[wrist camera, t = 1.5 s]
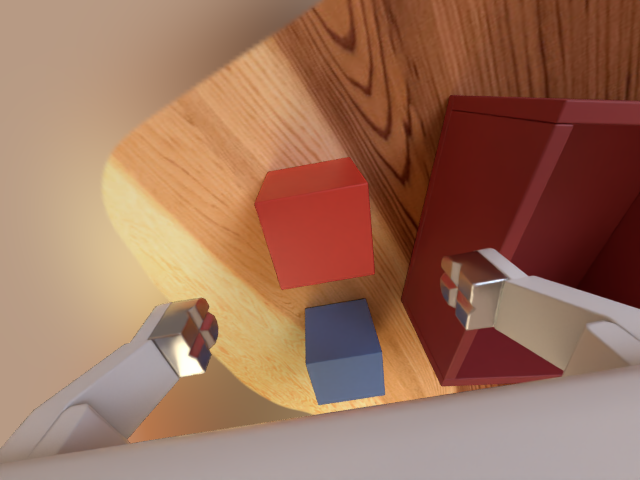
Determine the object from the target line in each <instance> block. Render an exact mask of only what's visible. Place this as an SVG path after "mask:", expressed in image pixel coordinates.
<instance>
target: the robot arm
mask: <svg viewBox="0 0 640 480" xmlns="http://www.w3.org/2000/svg"><path fill="white" fill-rule="evenodd" d="M441 268H442V269H443V270H444V271H445V272H444V274H443V275H442V276H441V277H440V288H441V292H442V295H443V297H444V299H445V301H446V302H447V304H448V305H450V306H452V307H454V308H456V309H455V315H456V317H457V318H458V320H459V321H460V323H461V324H462V325H463V327H464V328H465V330H466V331H467V330H474V329H482V328H489V327H494V328H495V329H496V330H498V331H500V332H501V333H503V334H505V335H506V336H508V337H509V338H511V339H513V340H514V341H516V342H518V343H519V344H521V345H523V346H524V347H526V348H527V349H529V350H531V351H532V352H534V353H536V354H537V355H539V356H540V357H542V358H544V359H545V360H547V361H549V362H550V363H552V364H553V365H555V366H557V367H558V368H560V369H562V370H563V371H564V372H563V374H562V376H561V377H556V378H549V379H543V380H536V381H530V382H523V383H517V384H510V385H504V386H497V387H491V388H485V389H478V390H472V391H465V392H459V393H453V394H446V395H440V396H433V397H427V398H420V399H414V400H408V401H401V402H395V403H388V404H382V405H376V406H369V407H363V408H356V409H350V410H343V411H337V412H330V413H324V414H317V415H311V416H305V417H298V418H291V419H285V420H279V421H272V422H266V423H259V424H253V425H246V426H240V427H233V428H227V429H220V430H214V431H208V432H201V433H194V434H188V435H181V436H175V437H168V438H162V439H155V440H149V441H143V442H136V443H130V442H129V441H128V440H127V439H128V438H129V437H130V436H131V435H132V433H133V432H134V431H135V430H136V429H137V428H138V427H139V425H140V424H141V423H142V422H143V421H144V420H145V418H146V417H147V416H148V415H149V414H150V413H151V411H152V410H153V409H154V408H155V407H156V406H157V405H158V403H159V402H160V401H161V400H162V399H163V398H164V396H165V395H166V394H167V393H168V392H169V391H170V389H171V388H172V387H173V386H174V385H175V384H176V383H177V381H178V380H179V378H181V377H186V376H191V375H197V374H202V373H205V372H206V369H207V366H208V363H209V360H210V357H211V355H212V354H211V352H210V350H209V349H210V348H211V347H212V346H213V345H214V344H215V343H216V340H217V337H218V324H217V320H216V318H215V316H214V315H212V314H211V313H209V312H208V309H209V304H208V303H207V301H206V299H204V298H197V299H190V300H184V301H177V302H171V303H166V304H160V305H158V306H156V307H155V308H154V309H153V311H152V312H151V314H150V315H149V317H148V318H147V319H146V321H145V322H144V323H143V325H142V326H141V328H140V329H139V331H138V332H137V333H136V335H135V336H134V338H133V339H132V341H131V342H130V343H128V344H124V345H123V346H121V347H120V348H119V349H117V350H116V351H114V352H113V353H112V354H110V355H109V356H108V357H106V358H105V359H103V360H102V361H101V362H99V363H98V364H96V365H95V366H94V367H92V368H91V369H90V370H88V371H87V372H85V373H84V374H83V375H81V376H80V377H79V378H77V379H76V380H74V381H73V382H72V383H70V384H69V385H68V386H66V387H65V388H63V389H62V390H61V391H59V392H58V393H56V394H55V395H54V396H52V397H51V398H50V399H48V400H47V401H46V402H44V403H43V404H41V405H40V406H39V407H37V408H36V409H34V410H33V411H32V412H31V414H30V415H29V416H28V417H27V418H26V420H25V421H24V422H23V423H22V424H21V425H20V426H19V428H18V429H17V430H16V431H15V432H14V433H13V434H12V436H11V437H10V438H9V439H8V440H7V442H6V443H5V444H4V445H3V446H2V447H1V448H0V480H640V309H638V308H634V307H631V306H628V305H625V304H622V303H619V302H616V301H612V300H609V299H606V298H603V297H600V296H597V295H594V294H590V293H587V292H584V291H581V290H578V289H575V288H572V287H568V286H565V285H562V284H559V283H556V282H553V281H550V280H546V279H543V278H540V277H537V276H528V275H526V274H525V273H524V272H523V271H521V270H520V269H519V268H518V267H516V266H515V265H514V264H512V263H511V262H510V261H509V260H507V259H506V258H505V257H504V256H502V255H501V254H500V253H499V252H497V251H496V250H495V249H493V248H485V249H480V250H475V251H473V252H467V253H461V254H456V255H450V256H444V257H443V259H442V262H441Z"/></svg>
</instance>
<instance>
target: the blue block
mask: <svg viewBox="0 0 640 480" xmlns="http://www.w3.org/2000/svg"><path fill="white" fill-rule="evenodd" d="M305 351H306V367H307V370H308V373H309V376H310V380H311V383H312V386H313V389H314V392H315V396H316V399H317V402H318V405H323V404H329V403H336V402H342V401H349V400H356V399H362V398H369V397H375V396H382V395H385V387H384V373H383V359H382V350H381V347H380V344H379V340H378V337H377V334H376V331H375V327H374V324H373V321H372V317H371V314H370V311H369V307H368V304H367V301H366V299H360V300H354V301H348V302H342V303H336V304H330V305H324V306H318V307H312V308H306V309H305Z"/></svg>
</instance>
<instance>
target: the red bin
mask: <svg viewBox="0 0 640 480" xmlns="http://www.w3.org/2000/svg"><path fill="white" fill-rule="evenodd" d="M485 248H493V249H495V250H496V251H497V252H499V253H500V254H501V255H502V256H504V257H505V258H506V259H507V260H509V261H510V262H511V263H512V264H514V265H515V266H516V267H518V268H519V269H520V270H521V271H523V272H524V273H525V274H526V275H528V276H537V277H540V278H543V279H546V280H550V281H553V282H556V283H559V284H562V285H565V286H568V287H572V288H575V289H578V290H581V291H584V292H587V293H590V294H594V295H597V296H600V297H603V298H606V299H609V300H612V301H616V302H619V303H622V304H625V305H628V306H631V307H634V308H638V309H640V101H625V100H592V99H559V98H526V97H493V96H459V95H451V96H450V98H449V102H448V106H447V110H446V114H445V119H444V123H443V127H442V131H441V135H440V139H439V144H438V148H437V152H436V156H435V160H434V164H433V169H432V173H431V177H430V181H429V185H428V189H427V194H426V198H425V202H424V206H423V210H422V214H421V219H420V223H419V227H418V231H417V235H416V239H415V244H414V248H413V252H412V256H411V260H410V265H409V269H408V273H407V277H406V281H405V285H404V290H403V294H402V298H401V301H402V303H403V305H404V308H405V310H406V312H407V314H408V316H409V318H410V320H411V323H412V325H413V327H414V329H415V331H416V333H417V335H418V338H419V340H420V342H421V344H422V346H423V348H424V350H425V353H426V355H427V357H428V359H429V361H430V363H431V365H432V368H433V370H434V372H435V374H436V376H437V378H438V380H439V382H440V385H441V386H463V385H487V384H510V383H523V382H530V381H536V380H543V379H549V378H556V377H561V376H562V374H563V372H564V371H563V370H562V369H560V368H558V367H557V366H555V365H553V364H552V363H550V362H549V361H547V360H545V359H544V358H542V357H540V356H539V355H537V354H536V353H534V352H532V351H531V350H529V349H527V348H526V347H524V346H523V345H521V344H519V343H518V342H516V341H514V340H513V339H511V338H509V337H508V336H506V335H505V334H503V333H501V332H500V331H498V330H496V329H495V328H494V327H489V328H482V329H474V330H467V331H466V330H465V328H464V327H463V325H462V324H461V323H460V321H459V320H458V318H457V317H456V315H455V309H456V308H454V307H452V306H450V305H448V304H447V302H446V301H445V299H444V297H443V295H442V292H441V288H440V277H441V276H442V275H443V274H444V272H445V271H444V270H443V269H442V268H441V262H442V259H443V257H444V256H450V255H456V254H461V253H467V252H473V251H475V250H480V249H485Z"/></svg>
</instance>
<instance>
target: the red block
mask: <svg viewBox="0 0 640 480" xmlns="http://www.w3.org/2000/svg"><path fill="white" fill-rule="evenodd" d="M254 205H255V208H256V211H257V214H258V217H259V221H260V224H261V227H262V230H263V233H264V236H265V240H266V243H267V246H268V249H269V252H270V255H271V259H272V262H273V265H274V268H275V271H276V274H277V277H278V281H279V284H280V287H281V289H282V290H284V289H290V288H296V287H302V286H308V285H314V284H320V283H326V282H332V281H338V280H344V279H350V278H356V277H362V276H367V275H373V274H375V267H374V254H373V240H372V227H371V214H370V200H369V187H368V183H367V181H366V180H365V178H364V177H363V175H362V174H361V173H360V171H359V170H358V168H357V167H356V165H355V164H354V163H353V161H352V160H351V158H350V157H347V158H341V159H336V160H330V161H325V162H319V163H314V164H309V165H303V166H298V167H292V168H287V169H281V170H276V171H270V172H268V173H267V175H266V177H265V180H264V182H263V184H262V187H261V189H260V191H259V194H258V196H257V198H256V201H255V204H254Z"/></svg>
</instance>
